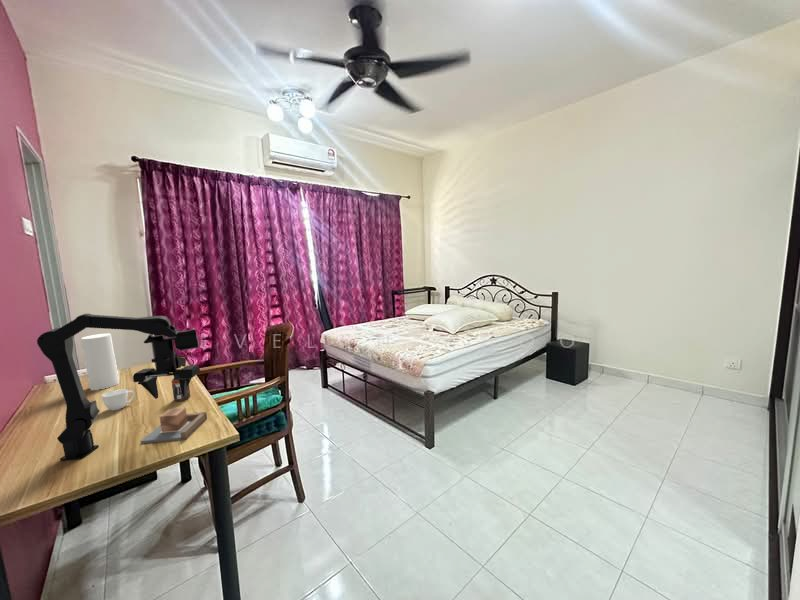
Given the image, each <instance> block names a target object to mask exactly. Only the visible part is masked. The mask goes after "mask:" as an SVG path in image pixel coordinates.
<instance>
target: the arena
mask: <svg viewBox="0 0 800 600" xmlns="http://www.w3.org/2000/svg"><path fill="white" fill-rule="evenodd" d="M186 414H187V421H188V423H186V424H185V425H184V426H183V427H182V428H181V429H180V430H178V431H166V432H162V429H161V424H160V425H159V426H157V428H155V429H154V430H153V431H151V432H150V433H149V434H148V435H146V436H145V437H143V438H142V439H141V440H140V444H147V443H157V442H160V443H161V442H171V441H183V440H184V441H185V440H187V439H188V438H189V437H190V436H191V435H192V434H193V433H194V432H195V431H196V430H197V429H199V427H200V426H201V425H202V424H203V423H204V422H206V420H207V419H208V414H207V411H201V412H194V413H193V412H192V413H191V412H190V413H186Z"/></svg>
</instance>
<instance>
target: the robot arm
mask: <svg viewBox="0 0 800 600" xmlns="http://www.w3.org/2000/svg"><path fill="white" fill-rule="evenodd" d="M88 328H89V329H105V330H106V329H107V330H126V331H134V332H135V331H136V332H140V333H143V334H148V336H147V338H145V339H144V341H143V343H144V344H151V348H152V352H153V353H152V354H153V358H151V363H154V367H151V368H143V369H141V370H139V371H137V372H134V373H133V375H132V381H133V383H137V384H138V385H141V386H142V387H143V388H144V389H146V391H147V392H148V393H149V394H150V395H151V396H152V397H153V398H154V399H155V400H157V399H158V398H159V391H158V384H157V379H158V377H169V376H170V377H171V376H173V377H174V375H179V377H180V378H181V379H179V383H180V387H181V391H182V394H183V396H186V394H187V390H188V387H189V388H190V383H191V380H192V379H193V378H194V377H196V375H198V374H199V373H200V372H201V369H200V367H199V365H198V364H192V365H191V364H190V365H186V364H187V357H184V356H183V357H181V356H180V357H179V354H178V353H175V349H177V350H179V351H180V352H181V351H187V350H188V351H189V350H194V349H199V348H200V342H199V336H198V333H197V329H196V328H192V329H189V330H181V331H180V330H179V329H177V328H176V327H175V326H174V325H172V323H171V320H170V319H169V318H168V317H167V316H165V315H154V316H153V315H152V316H142V317H129V316H115V315H114V316H113V315H102V314H101V315H100V314H91V313H83V314H81V315H78V316H77V317H75V318H74V319H73V320H71V321H69V322H68V323H65V324H64V325H63V326H61V327H56V328H52V329H50V330H47V331H46V332H43V333H41V334H40V335H39V336H38V337H37V339H36V343H37V346H38V347H39V349H40V351H41V352H42V354H43V355H44V356H45V357H46V358H47V359H48V360H49V361H50V362H51V364H52V366H53V370H54V373H55V374H56V378H57V382H58V384H59V387H60V389H61V390H60V391H61V394H62V395H63V399H64V401H65V405H66V411H65V428H64V429H63V431H62V432H61V433H60V434H59V435H58V437H56V438H57V440H58V442H59V443H60V444H62V449H63V453H64V455H63V456H62V457H60V458H59V461H68V460H79V459H83V458H85V457H86V456H88V455H89V454H91V453H92V452H94V451H95V450H96V449H98V448H99V447H100V446H99V444H95V443H94V437H93V433H92V431H91V429H90V428H91V427H92V426H93V424H94V423H95V421H96V420H97V419H98V416H99V413H100V409H98V405H97V404H98V403H97V400H93V401H90V400H89V399H87V397H86V394H85V391H84V388H83V385H82V382H81V380H80V379H81V378H80V376H79V374H78V373H79V372H78V370H77V367H76V364H75V361H74V358H73V351H74V336H76V335H77V334H79V333H81V332H82V331H84V330H85V329H88ZM173 340H174V342H173ZM174 347H175V349H174ZM181 367H182V368H181ZM180 368H181V369H180Z"/></svg>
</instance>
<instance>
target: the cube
mask: <svg viewBox="0 0 800 600" xmlns="http://www.w3.org/2000/svg"><path fill="white" fill-rule="evenodd" d="M187 414H188V413H187V408H186V407H182V408H180V407H179V408H169V409H167V410H166V411H165V412H163V413H162V414H161V415H160V416H159V422H160V425H161V429H162V432H166V431H178V430H180V429H181V428H182V427H183V426H184V425H185V424H186V423H188V421H187Z"/></svg>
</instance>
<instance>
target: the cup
mask: <svg viewBox="0 0 800 600" xmlns="http://www.w3.org/2000/svg"><path fill="white" fill-rule="evenodd" d="M129 394H131V397H130V399H129V400H128V398H129V397H128V396H129ZM135 396H136V394H135V391H134V390H127V389H126V388H119V389H113V390H110V391H107V392H105V393H102V395H101V398H102V402H103V405H104V406H105V407H106V408H107V409H109V411H112V412H113V411H114V410H115V411H119V410H122V409H123V408H124V407H125V405H127V404H129V403H130V402H132V401H133V400H134V399H135ZM121 408H122V409H121Z"/></svg>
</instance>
